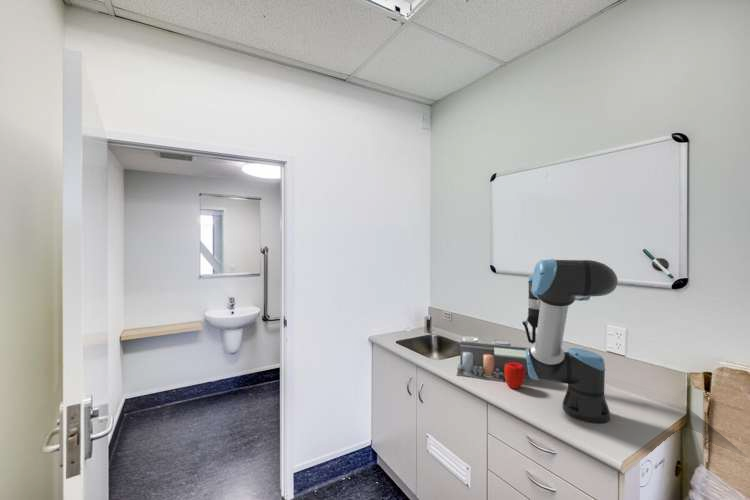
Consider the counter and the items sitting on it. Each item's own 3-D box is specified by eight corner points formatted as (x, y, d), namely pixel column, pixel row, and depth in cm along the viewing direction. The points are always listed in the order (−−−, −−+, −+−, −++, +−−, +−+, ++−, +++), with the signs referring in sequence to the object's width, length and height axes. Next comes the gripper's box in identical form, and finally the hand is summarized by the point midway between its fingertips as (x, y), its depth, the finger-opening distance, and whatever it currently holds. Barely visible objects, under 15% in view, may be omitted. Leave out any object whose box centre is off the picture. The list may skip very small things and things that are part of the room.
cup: (486, 356, 187) (486, 339, 187) (468, 358, 183) (468, 341, 183) (477, 352, 195) (477, 335, 195) (460, 354, 191) (460, 337, 191)
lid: (535, 360, 149) (535, 355, 149) (494, 355, 156) (494, 351, 156) (533, 353, 160) (533, 349, 160) (494, 348, 166) (494, 345, 166)
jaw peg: (483, 375, 157) (483, 356, 157) (483, 371, 162) (483, 353, 162) (494, 376, 156) (494, 358, 156) (494, 373, 160) (494, 354, 160)
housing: (546, 387, 146) (546, 359, 146) (456, 375, 159) (456, 349, 159) (541, 373, 162) (541, 348, 162) (460, 363, 175) (460, 340, 175)
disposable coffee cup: (491, 365, 173) (492, 343, 172) (491, 360, 182) (491, 338, 182) (511, 368, 170) (511, 345, 170) (509, 362, 179) (510, 340, 179)
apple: (523, 393, 140) (523, 368, 140) (502, 388, 144) (502, 364, 144) (526, 386, 147) (526, 362, 147) (506, 381, 152) (506, 358, 152)
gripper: (551, 307, 154) (551, 357, 154) (521, 305, 158) (521, 353, 159) (554, 310, 147) (553, 362, 147) (522, 308, 151) (522, 358, 152)
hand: (536, 357), depth 153 cm, fingers closed
